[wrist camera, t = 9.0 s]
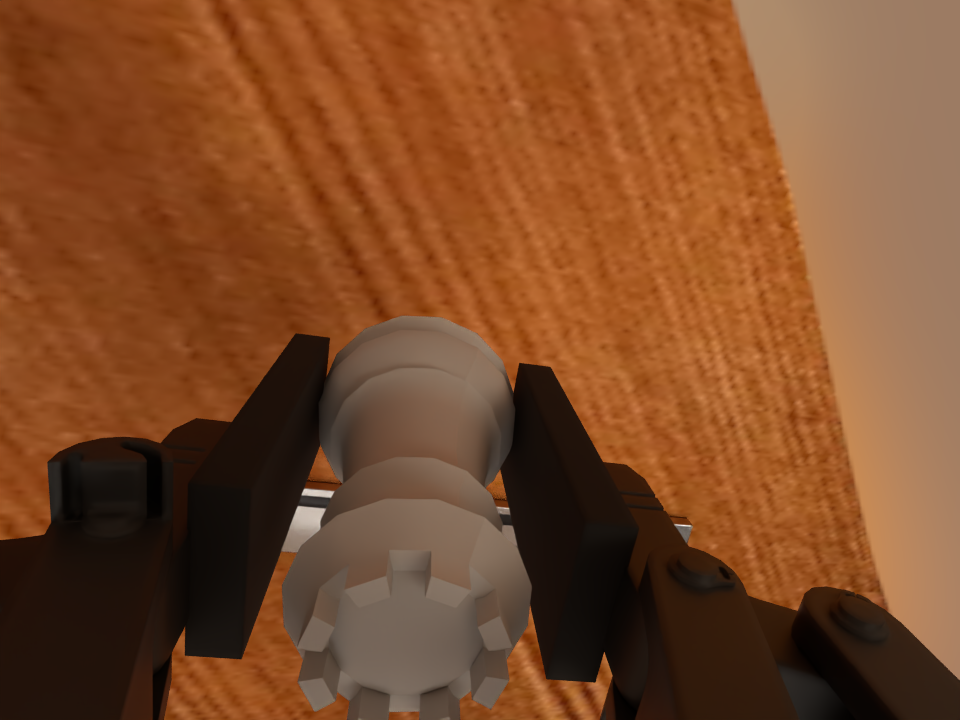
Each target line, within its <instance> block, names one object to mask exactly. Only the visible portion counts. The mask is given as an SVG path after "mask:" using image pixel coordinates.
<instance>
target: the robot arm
mask: <svg viewBox="0 0 960 720" xmlns="http://www.w3.org/2000/svg"><path fill="white" fill-rule="evenodd" d="M329 342H330V338H327V337H319V336H312V335H304V334H295V335H294V337H293V338H292V339H291V341H290V342H289V344H288V345H287V346H286V348H285V349H284V350H283V352H282V353H281V355H280V356H279V357H278V359H277V360H276V362H275V363H274V364H273V366H272V367H271V369H270V370H269V371H268V373H267V374H266V375H265V377H264V378H263V380H262V381H261V382H260V384H259V385H258V387H257V388H256V389H255V391H254V392H253V394H252V395H251V396H250V398H249V399H248V400H247V402H246V403H245V405H244V406H243V407H242V409H241V410H240V412H239V413H238V414H237V416H236V417H235V418H234V420H233V421H232V422H225V421H216V420H208V419H199V418H196V419H194V420H192V421H190V422H188V423H186V424H183V425H181V426H179V427H177V428H175V429H173V430H172V431H171V432H170V433H169V434H168V436H167V437H166V438H165V439H164V440H163V441H162V442H161V443H157V442H154V441H151V440H148V439H143V438H132V437H113V438H100V439H96V440H91V441H87V442H82V443H78V444H76V445H74V446H71V447H69V448H67V449H64V450H62V451H60V452H58V453H57V454H56V455H55V456H54V457H53V458H51V459H50V460H49V461H48V462H47V463H48V479H49V495H50V510H51V524H50V526H49V528H48V529H47V531H46V533H45V535H40V536H33V537H26V538H19V539H8V540H0V720H164V716H165V711H166V706H167V700H168V695H169V690H170V685H171V673H172V651H173V649H174V647H175V645H176V643H177V641H178V639H179V637H180V635H181V633H182V631H183V629H184V627H185V656H200V657H215V658H230V659H242V656H243V654H244V651H245V648H246V645H247V643H248V640H249V637H250V634H251V632H252V629H253V626H254V624H255V621H256V618H257V615H258V613H259V610H260V607H261V605H262V602H263V599H264V596H265V594H266V591H267V588H268V585H269V583H270V580H271V577H272V575H273V572H274V569H275V566H276V564H277V561H278V558H279V556H280V553H281V550H282V547H283V545H284V542H285V539H286V536H287V534H288V531H289V528H290V526H291V523H292V520H293V517H294V515H295V512H296V509H297V507H298V504H299V501H300V498H301V496H302V493H303V490H304V488H305V485H306V482H307V479H308V477H309V474H310V471H311V468H312V466H313V463H314V460H315V458H316V455H317V452H318V449H319V447H320V440H319V401H320V399H321V396H322V394H323V390H324V382H325V380H326V375H327V364H328V353H329ZM513 403H514V406H515V409H516V410H515V421H514V432H513V442H512V446H511V449H510V452H509V453H508V455H507V457H506V459H505V461H504V463H503V464H502V466H501V468H500V470H501V474H502V479H503V483H504V488H505V492H506V497H507V501H508V506H509V511H510V515H511V520H512V524H513V529H514V533H515V538H516V542H517V547H518V551H519V554H520V556H521V559H522V562H523V564H524V567H525V569H526V572H527V575H528V577H529V580H530V583H531V585H532V591H531V599H530V606H531V611H532V615H533V620H534V624H535V629H536V633H537V638H538V643H539V647H540V652H541V656H542V661H543V665H544V670H545V674H546V679H551V680H566V681H581V682H596V678H597V675H598V671H599V668H600V664H601V661H602V657H603V654H604V652H605V655H606V658H607V661H608V663H609V666H610V669H611V672H612V675H613V676H612V680H611V683H610V687H609V690H608V693H607V697H606V700H605V703H604V707H603V710H602V714H601V717H600V720H960V680H958V679H957V677H956V676H955V675H953V673H952V672H950V671H949V670H948V669H947V668H946V667H945V666H944V665H943V664H942V663H941V662H940V661H939V660H938V659H937V658H936V657H935V656H934V655H933V654H932V653H931V652H930V651H929V650H928V649H927V648H926V647H925V646H924V645H923V644H922V643H921V642H920V641H919V640H918V639H917V638H916V637H915V636H914V635H913V634H912V633H911V632H910V631H909V630H908V629H907V628H906V627H905V626H904V625H903V624H902V623H901V622H899V621H898V620H897V619H896V618H895V617H893V616H892V615H891V614H890V613H888V612H887V611H886V610H885V609H883V608H881V607H879V606H878V605H876V604H874V603H872V602H871V601H870V600H869V599H867V598H866V597H863V596H861V595H859V594H857V595H856V594H855V593H854V592H850V591H847V590H841V589H836V588H831V587H814V588H811V589H810V590H809V591H807V592H806V593H805V594H804V597H803V599H802V602H801V604H800V607H799V609H798V611H796V610H792V609H789V608H786V607H782V606H779V605H776V604H772V603H769V602H766V601H762V600H759V599H756V598H753V597H750V596H748V595H747V593H746V590H745V588H744V585H743V583H742V582H741V580H740V579H739V577H738V576H737V575H736V573H735V572H734V571H733V570H732V569H731V568H729V567H728V566H727V565H726V564H725V563H723V562H722V561H721V560H719V559H717V558H715V557H713V556H712V555H710V554H708V553H706V552H704V551H701V550H698V549H695V548H692V547H689V546H688V545H687V543H686V542H685V540H684V538H683V537H682V535H681V534H680V532H679V531H678V529H677V528H676V526H675V525H674V523H673V522H672V520H671V519H670V517H669V515H668V514H667V512H666V511H663V509H664V508H663V506H662V505H661V503H660V502H659V500H658V499H657V498H655V494H654V492H653V491H652V489H651V488H650V486H649V485H648V483H647V482H646V480H645V479H644V478H643V477H641V476H640V475H639V474H637V473H636V472H635V471H634V470H632V469H631V468H630V467H628V466H627V465H624V464H615V463H607V462H603V461H602V459H601V458H600V456H599V454H598V452H597V450H596V449H595V447H594V445H593V443H592V441H591V439H590V438H589V436H588V434H587V432H586V430H585V429H584V427H583V425H582V423H581V421H580V420H579V418H578V416H577V414H576V412H575V411H574V409H573V407H572V405H571V403H570V401H569V400H568V398H567V396H566V394H565V392H564V391H563V389H562V387H561V385H560V383H559V382H558V380H557V378H556V376H555V374H554V372H553V371H552V369H551V367H547V366H539V365H532V364H524V363H519V368H518V373H517V378H516V383H515V388H514V396H513Z"/></svg>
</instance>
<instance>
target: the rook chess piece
mask: <svg viewBox="0 0 960 720" xmlns="http://www.w3.org/2000/svg"><path fill="white" fill-rule="evenodd" d="M513 396H514V393H513V390H512V388H511V385H510V382H509V379H508V376H507V373H506V370H505V367H504V364H503V362H502V360H501V359H500V358H499V357H498V356H497V354H496V353H495V352H494V351H493V350H492V349H491V348H490V347H489V346H488V345H487V344H486V343H485V342H484V341H483V339H482V338H481V337H480V336H479V335H478V334H477V333H475V332H473V331H470V330H468V329H466V328H464V327H461V326H459V325H457V324H455V323H453V322H450V321H448V320H446V319H444V318H441V317H418V316H400V317H397V318H394V319H391V320H389V321H386V322H383V323H380V324H377V325H374V326H371V327H369V328H366V329H364V330H363V331H362V332H361V333H360V334H359V335H358V336H356V337H355V338H354V339H353V340H352V341H351V342H350V343H349V344H348V345H346V346H345V347H344V348H343V349H342V350H341V351H340V352H339V353H338V354H337V355H336V357H335V359H334V362H333V364H332V366H331V368H330V371H329V373H328V375H327V377H326V380H325V382H324V390H323V394H322V396H321V399H320V401H319V440H320V444H321V447H322V449H323V451H324V453H325V455H326V457H327V460H328V462H329V464H330V466H331V468H332V470H333V472H334V474H335V476H336V478H337V479H338V480H339V481H341V482H342V485H341V486H340V487H339V488H338V489H337V490H335V491H334V493H333V495H332V497H331V499H330V501H329V503H328V506H327V508H326V510H325V512H324V514H323V516H322V518H321V520H320V530H319V531H318V532H317V533H315V534H314V535H313V536H312V537H311V538H309V539H308V540H307V541H306V542H305V543H303V544H302V545H301V546H300V548H299V550H298V552H297V555H296V557H295V559H294V561H293V563H292V565H291V567H290V569H289V572H288V574H287V576H286V578H285V580H284V582H283V584H282V594H283V617H284V627H285V629H286V630H287V632H288V634H289V636H290V637H291V639H292V641H293V643H294V644H295V646H296V648H297V650H298V651H299V653H300V655H301V657H302V658H303V663H302V667H301V671H300V675H299V679H298V684H299V685H300V687H301V689H302V690H303V692H304V694H305V695H306V697H307V699H308V701H309V702H310V704H311V706H312V707H313V709H314V711H317V710H319V709H321V708H323V707H325V706H327V705H329V704H331V703H333V702H335V701H336V695H337V692H338V693H339V694H341V695H342V696H344V697H345V698H346V699H348V700H349V701H350V703H349V709H348V716H347V720H388V717H389V712H409V711H420V714H419V720H460V707H459V699H461V698H462V697H464V696H465V695H466V694H468V693H469V692H470V691H471V692H472V700H474V701H476V702H478V703H480V704H482V705H484V706H486V707H488V708H489V709H491V708H492V707H493V705H494V704H495V702H496V700H497V699H498V697H499V696H500V694H501V692H502V691H503V689H504V688H505V686H506V684H507V683H508V681H509V675H508V668H507V661H506V660H507V658H508V656H509V655H510V653H511V652H512V650H513V648H514V647H515V645H516V643H517V642H518V640H519V639H520V637H521V635H522V634H523V632H524V631H525V629H526V627H527V626H528V617H529V608H530V599H531V591H532V585H531V583H530V580H529V577H528V575H527V572H526V569H525V567H524V564H523V562H522V559H521V556H520V554H519V551H518V548H517V547H516V546H514V545H513V544H512V543H511V542H510V541H509V540H508V539H507V538H506V537H505V536H504V535H503V534H502V525H503V523H502V521H501V518H500V516H499V513H498V510H497V508H496V505H495V503H494V500H493V497H492V495H491V494H490V493H489V492H488V491H487V490H486V489H485V488H486V487H487V486H488V485H489V484H490V483H491V482H493V481H494V479H495V477H496V475H497V473H498V472H499V470H500V468H501V466H502V464H503V463H504V461H505V459H506V457H507V455H508V453H509V452H510V449H511V446H512V442H513V432H514V421H515V410H516V409H515V406H514V403H513Z"/></svg>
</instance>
